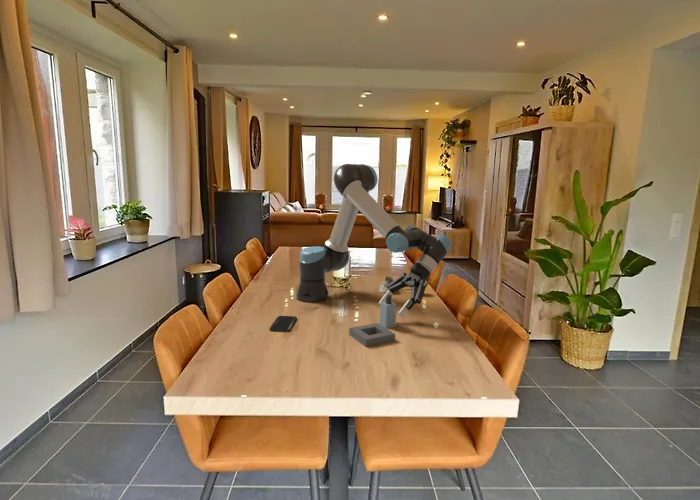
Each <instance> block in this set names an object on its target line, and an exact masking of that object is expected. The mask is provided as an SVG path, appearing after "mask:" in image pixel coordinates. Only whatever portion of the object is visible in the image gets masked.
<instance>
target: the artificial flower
mask: <svg viewBox="0 0 700 500" xmlns="http://www.w3.org/2000/svg"><path fill="white" fill-rule="evenodd" d="M393 281H394V278H393V277H392V276H385V278H384V281H382V282H381V283H380V284H379V289H378V292H380V293H386V292H387V291H388V289H387V288H386V286H387V285H389V284H390V283H391V282H393ZM403 291H412V288H406V289H404V288H403V289H400V290H398V292H403Z"/></svg>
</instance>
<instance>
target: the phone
mask: <svg viewBox="0 0 700 500" xmlns="http://www.w3.org/2000/svg"><path fill="white" fill-rule="evenodd" d="M297 319H298V317H297V316H295V315H291V316H289V315H278V316H277V317H276V318H275V320H274V321H273V322H272V324H271V325H270V326H269V330H268V331H269V332H276V333H277V332H280V333H281V332H283V333H289V332H291V330H292V329H293V327H294V325H295V324H296V321H297Z"/></svg>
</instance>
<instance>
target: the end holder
mask: <svg viewBox="0 0 700 500" xmlns="http://www.w3.org/2000/svg"><path fill="white" fill-rule="evenodd" d="M348 335H349V336H351V338H353V339H355V340H356V341H358V342H359V343H360V344H361V345H363V346H364V347H369V346H370V347H371V346H375V345H379V344H385V343H390V342H395V341H396V334H395V332H393V331H391V330H389V328H385V327H383V326H382V325H380V323H378V322H375V323H370V324H365V325H359V326H353V327H349V328H348Z"/></svg>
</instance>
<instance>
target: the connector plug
mask: <svg viewBox="0 0 700 500" xmlns="http://www.w3.org/2000/svg"><path fill="white" fill-rule="evenodd" d="M392 297H393V296H391V295H386V302H381V303H380V304H379V305H380V307H379V308H380V309H379V311H380V312H379V324H380V325H381V326H383V327H385V328H386V329H389V328H395V327H396V325H397V324H396V323H397V321H396V320H397V303H396V302H393V301H392Z"/></svg>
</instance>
